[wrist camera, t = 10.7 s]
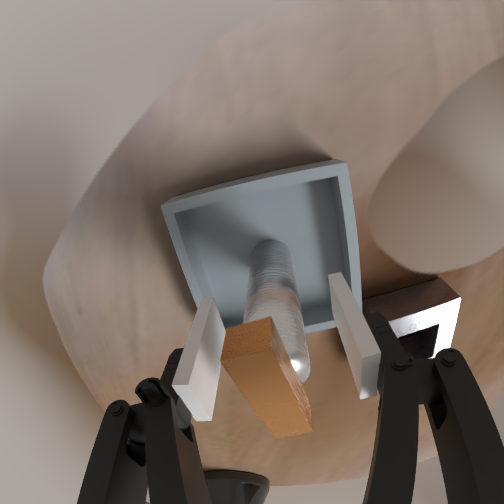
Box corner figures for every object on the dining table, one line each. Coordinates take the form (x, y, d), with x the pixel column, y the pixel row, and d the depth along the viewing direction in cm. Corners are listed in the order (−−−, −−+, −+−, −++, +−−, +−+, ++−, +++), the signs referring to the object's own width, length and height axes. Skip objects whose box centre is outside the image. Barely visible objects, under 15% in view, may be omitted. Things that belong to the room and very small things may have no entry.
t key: (238, 231, 22) (202, 364, 9) (277, 217, 21) (292, 343, 8) (265, 294, 24) (261, 440, 11) (301, 282, 23) (327, 428, 10)
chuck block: (363, 363, 28) (372, 388, 24) (363, 299, 24) (376, 324, 21) (430, 341, 26) (444, 363, 23) (440, 277, 23) (460, 297, 19)
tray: (218, 327, 26) (214, 348, 23) (173, 196, 21) (160, 205, 18) (353, 301, 24) (362, 320, 22) (335, 159, 20) (346, 162, 17)
